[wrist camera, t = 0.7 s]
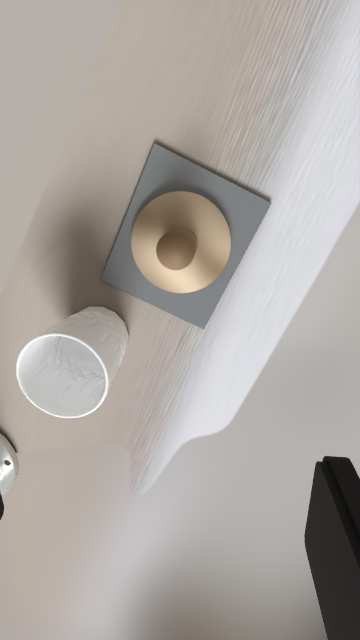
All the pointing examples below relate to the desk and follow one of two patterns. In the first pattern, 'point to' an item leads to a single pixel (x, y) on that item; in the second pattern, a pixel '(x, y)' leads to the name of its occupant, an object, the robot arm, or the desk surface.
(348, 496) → the robot arm
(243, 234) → the mat
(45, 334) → the white cup
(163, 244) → the lid
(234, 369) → the desk surface
